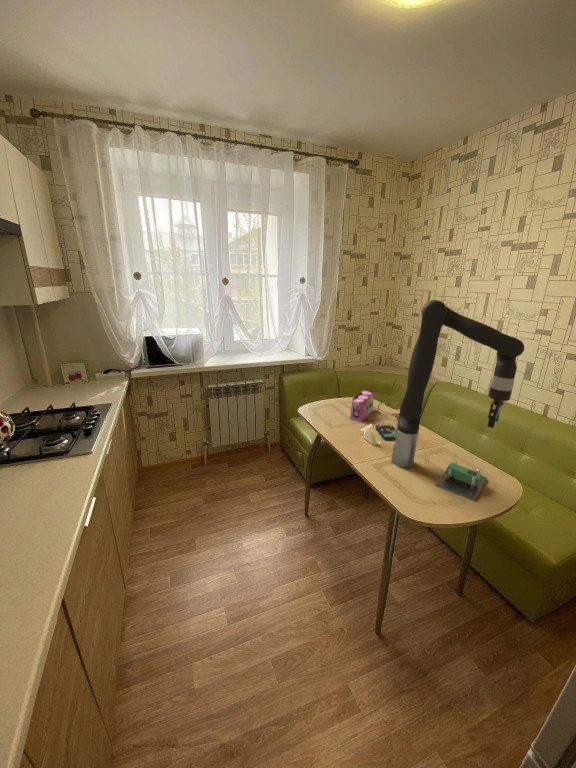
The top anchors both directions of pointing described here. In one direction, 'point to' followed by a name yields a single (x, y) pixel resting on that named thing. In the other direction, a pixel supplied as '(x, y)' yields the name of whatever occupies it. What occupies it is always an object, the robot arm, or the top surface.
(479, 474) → the board
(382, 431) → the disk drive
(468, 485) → the chassis
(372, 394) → the pink multipack of cans
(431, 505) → the top surface
